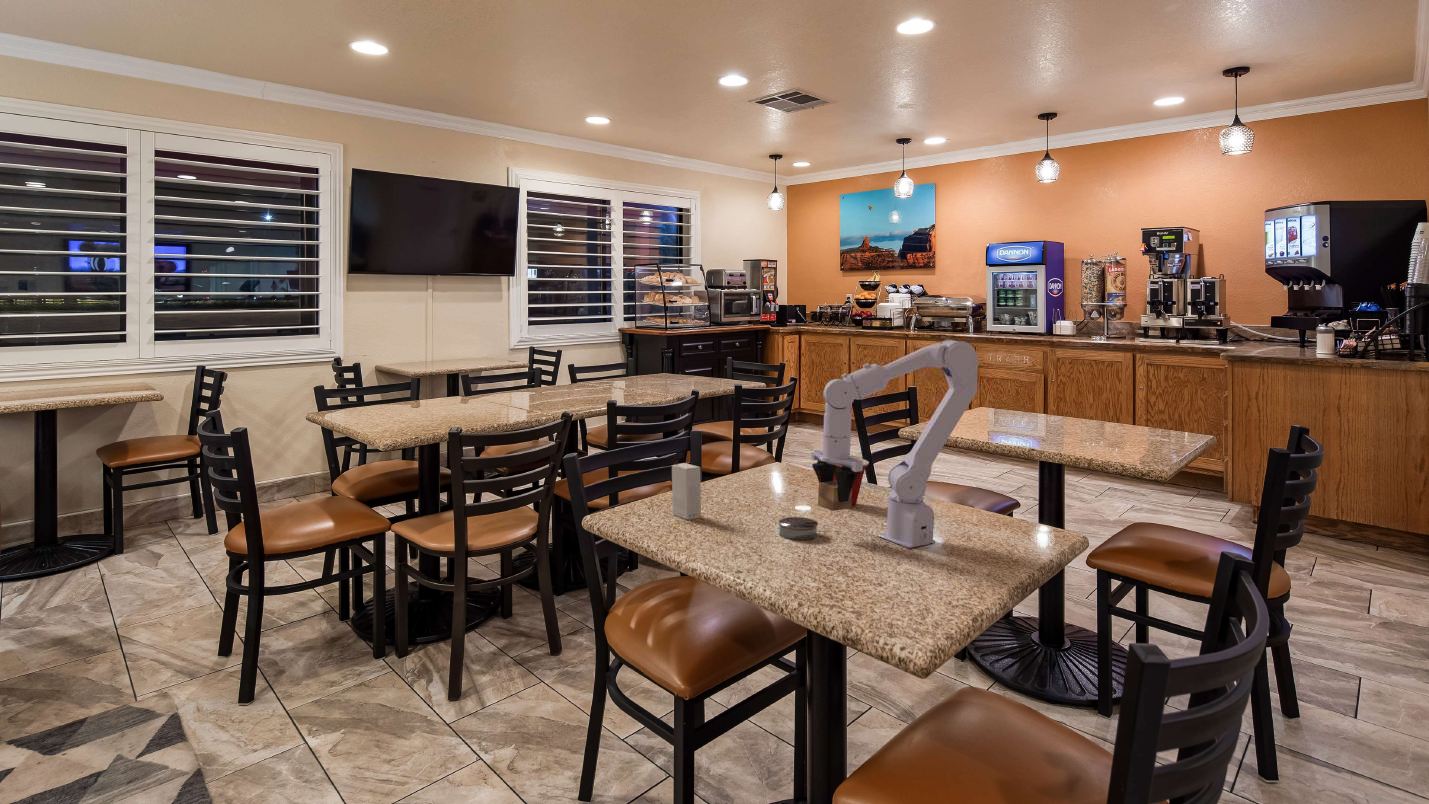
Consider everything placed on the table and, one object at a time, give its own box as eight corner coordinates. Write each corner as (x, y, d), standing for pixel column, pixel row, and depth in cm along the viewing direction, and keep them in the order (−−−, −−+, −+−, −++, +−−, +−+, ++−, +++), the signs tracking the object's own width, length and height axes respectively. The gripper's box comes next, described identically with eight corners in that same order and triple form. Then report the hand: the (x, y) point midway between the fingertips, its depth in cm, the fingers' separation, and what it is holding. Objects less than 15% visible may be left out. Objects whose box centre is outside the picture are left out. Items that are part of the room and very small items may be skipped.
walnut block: (851, 508, 159) (852, 485, 159) (833, 510, 157) (833, 487, 156) (835, 502, 164) (836, 480, 163) (817, 505, 161) (818, 482, 161)
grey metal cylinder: (825, 538, 160) (825, 524, 160) (794, 544, 156) (794, 530, 156) (801, 528, 168) (801, 515, 167) (770, 533, 163) (771, 520, 163)
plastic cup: (870, 511, 183) (873, 462, 181) (826, 509, 183) (828, 461, 181) (863, 499, 194) (865, 454, 192) (821, 498, 194) (823, 453, 192)
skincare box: (701, 517, 174) (702, 466, 172) (686, 520, 171) (687, 468, 169) (685, 511, 179) (686, 462, 177) (670, 514, 176) (671, 464, 174)
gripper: (801, 432, 163) (799, 493, 164) (845, 442, 150) (842, 508, 152) (826, 429, 166) (824, 489, 168) (871, 440, 154) (868, 504, 155)
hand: (834, 498), depth 160 cm, fingers closed on walnut block, 5 cm apart
